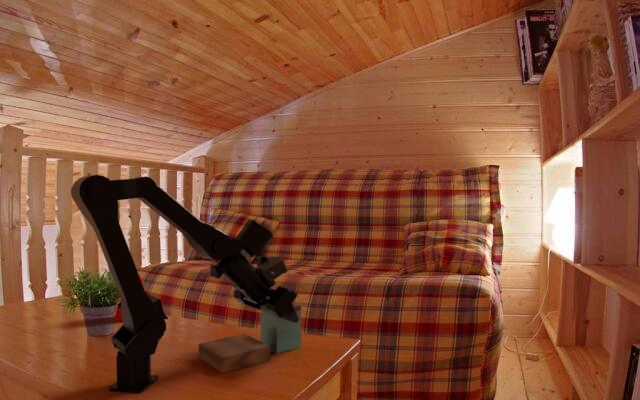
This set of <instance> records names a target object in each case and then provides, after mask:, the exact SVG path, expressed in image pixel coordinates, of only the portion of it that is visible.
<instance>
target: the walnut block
mask: <svg viewBox="0 0 640 400" xmlns="http://www.w3.org/2000/svg"><path fill="white" fill-rule="evenodd" d="M198 358H199V359H200V360H202V361H203V362H205V363H206V364H208V365H210V367H212V368H214V369H216V370H217V371H219V372H220V373H221V372H222V374H225V373H228V372H233V371H236V370H240V369H244V368H247V367H251V366H254V365H257V364H258V365H259V364H262V363H265V362H269V361H271V351H270V346H269V345H267V344H265V343H263V342H261V340H259V339H256V338H254V337H252V336H250V335H247V334H246V333H241V334H238V335H237V334H235V335H232V336H229V337H224V338H219V339H214V340H211V341H206V342H201V343H198Z"/></svg>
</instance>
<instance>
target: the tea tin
mask: <svg viewBox="0 0 640 400" xmlns="http://www.w3.org/2000/svg"><path fill="white" fill-rule="evenodd" d="M293 306H294V309H295V311H296V313H297V315H298V318H299V320H298V322H297V323H294V322H292V321H289V320H286V319H283V318H280V317H277V316H274V315H272V313H270V312H269V311H268V310H267V309H266V304H264V305H261V310H260V341H261V342H263V343H265V344H267V345H269V346H270V352H272V353H274V354H276V355H277V354H281V353H285V352H289V351H293V350H296V349H300V348H302V305H299V304H296V303H293Z"/></svg>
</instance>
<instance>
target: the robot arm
mask: <svg viewBox="0 0 640 400" xmlns="http://www.w3.org/2000/svg"><path fill="white" fill-rule="evenodd" d="M70 195H71V198H72V201H74V204H75V205H76V207H77V208H78V210H79V212H80V213H81V214H82V216H83V217H84V218H85V219H86V221H87V222H88V224H90V227H92V229H93V231H94V233H95V236H96V238H97V241H98V244H99V246H100V248H101V251H102V253H103V256H104V258H105V261H106V263H107V267H108V269H109V272H110V274H111V276H112V279H113V282H115V284H116V287H117V289H118V292H119V295H120V297H121V314H122V320H123V322H122V324H121V326H120V327H119V328H118V329H117V331H116V332H115V333H114V334H113V335H112V336H111V337H110V341H111V343H112V345H113V348H115V349H116V350H118V351H117V353H116V354H117V355H116V357H115V358H116V365H115V367H116V368H115V369H116V381H115V382H114V383H113V384H111V385H110V386H108V390H109V391H116V392H119V391H120V392H134V393H142V392H143V391H145V390H146V389H147V388H149V387H150V386H151V385H152V384H154V383H155V382H156V381H158V380H159V378H160V377H159V375H158V374H152V355H155V353H156V350H157V349H158V345H159V343H160V340H161V339H162V337H163V336H164V335H165V333H166V331H167V322H166V320H168V319H169V317H168V315H166V314H165V312H164V307H163V303H162V301H161V299H160V298H159V297H156V296H154V295H152V294H149V293H148V294H147V292H146V290H145V288H144V284H143V285H142V282H141V279H140V277H139V275H140V274H139V271H138V269H137V266H136V264H135V261H134V258H133V256H132V253H131V250H130V248H129V245H128V243H127V240H126V238H125V235H124V233H123V229H122V227H121V225H120V220H119V213H120V211H119V209H120V208H119V201H124V200H126V201H127V200H130V199H131V200H132V199H133V200H134V199H138V200H139V201H140V202H141V203H143V204H144V205H146V207H148V208H150V209H151V210H152V211H153V212H154V213H155V214H157V215H158V216H159V217H161V218H162V219H164V221H166V223H168V224H170V225H171V226H172V227H173V228H174V229H176V230H177V231H178V232H179V233H181V234H182V236H183V237H185V239H186V241H187V243H188V244H189V246H190V247H191V248H192V249H193V250H194V251H195V252H196V253H197V255H198V256H200V257H202V258H205V259H208V260H209V259H210V260H213V261H217V262H216V263H214V264H213V263H211V264H210V270H209V276H210V278H214V279H218V280H219V279H221V277H222V276H224V277H225V278H226V279H227V280H228V281H229V282H230V283H232V288H233V289H234V291H233V298H234V299H235V300H236V301H237V302H238V303H241V304H243V305H245V306H247V307H251V308H254V309H256V310H258V311H261V305H264V304H266V309H267V310H268V311H269V312H270V313H272V315H274V316H277V317H280V318H283V319H286V320H289V321H292V322H294V323H297V322H298V320H299V318H298V315H297V313H296V311H295V309H294V306H293V304H294V301H295V300H296V298H297V297H298V292H297V291H296V290H295V289H294V288H293V287H290V286H288V285H287V286H286V285H279V286H278V285H277V287H276V288H275V289H274V288H272V287H275V284H276V283H277V282H276V281H275V280H276V279H278V278H279V277H281V275H283V274H286V273H287V272H288V267H287V265H286V263H285V261H284V258H283V257H278V256H269V257H267V256H266V255H261V254H262V253H263V252H264V251H265V249H266V248H267V247H268V245H269V244H271V242H272V240H273V239H274V235H273V233H272V231H271V230H270V229H268V228H266V227H265V226H263V225H262V224H261V223H258V222H257V221H256V220H255V219H248V220H247V221H246V222H245V224H244V226H243V227H242V229H241V230H240V231H239V232H238V233H237V234H236V236H230V235H229V234H227V233H226V232H224V231H223V230H220V229H218V228H217V227H215V226H212V225H211V224H208V223H206V222H204V221H202V220H201V219H199V218H198V217H197V216H196V215H194V214H193V213H192V212H191V211H190V210H188V209H187V208H186V207H185V206H184V205H182V204H181V203H180V202H178V200H176V199H175V198H174V197H173V196H172V195H170V194H169V193H168V192H167V191H165V190H164V189H163V188H162V187H161V186H159V185H158V184H157V183H156V181H155V180H154V179H153V178H152V177H150V176H145V175H144V176H139V177H137V176H136V177H135V178H134V177H133V178H123V179H110V178H108V177H106V176H104V175H101V174H93V175H92V174H91V175H86V176H81V177H80V178H77V179H76V180H75V181H74V182H73V184H72V187H71V188H70ZM253 258H255V259H256V266H254V265H253V264H252V263H251V262H250V261H249V260H248V259H250V260H251V259H253Z"/></svg>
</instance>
